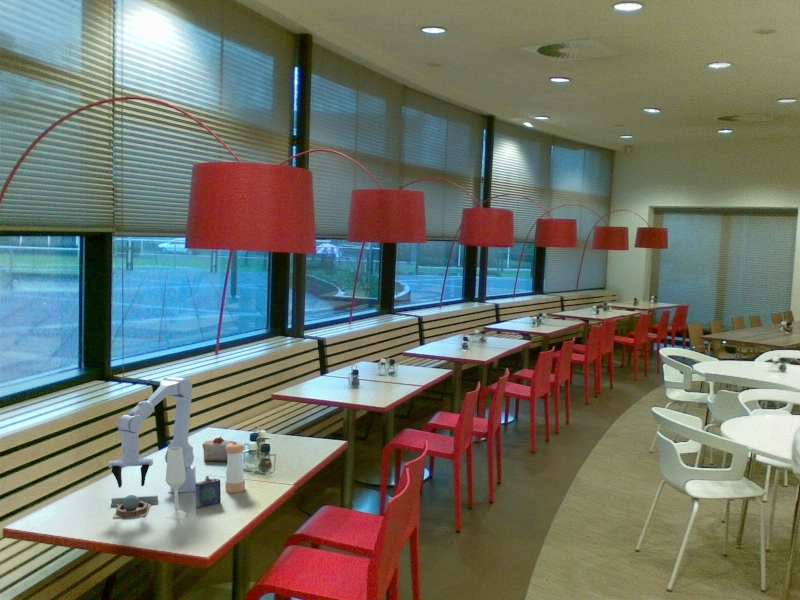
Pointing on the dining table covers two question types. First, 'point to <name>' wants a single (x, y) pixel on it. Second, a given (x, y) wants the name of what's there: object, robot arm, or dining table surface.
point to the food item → (215, 450)
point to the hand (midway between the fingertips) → (131, 485)
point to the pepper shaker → (234, 468)
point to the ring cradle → (138, 512)
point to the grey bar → (146, 499)
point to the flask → (207, 493)
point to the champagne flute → (175, 477)
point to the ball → (130, 503)
